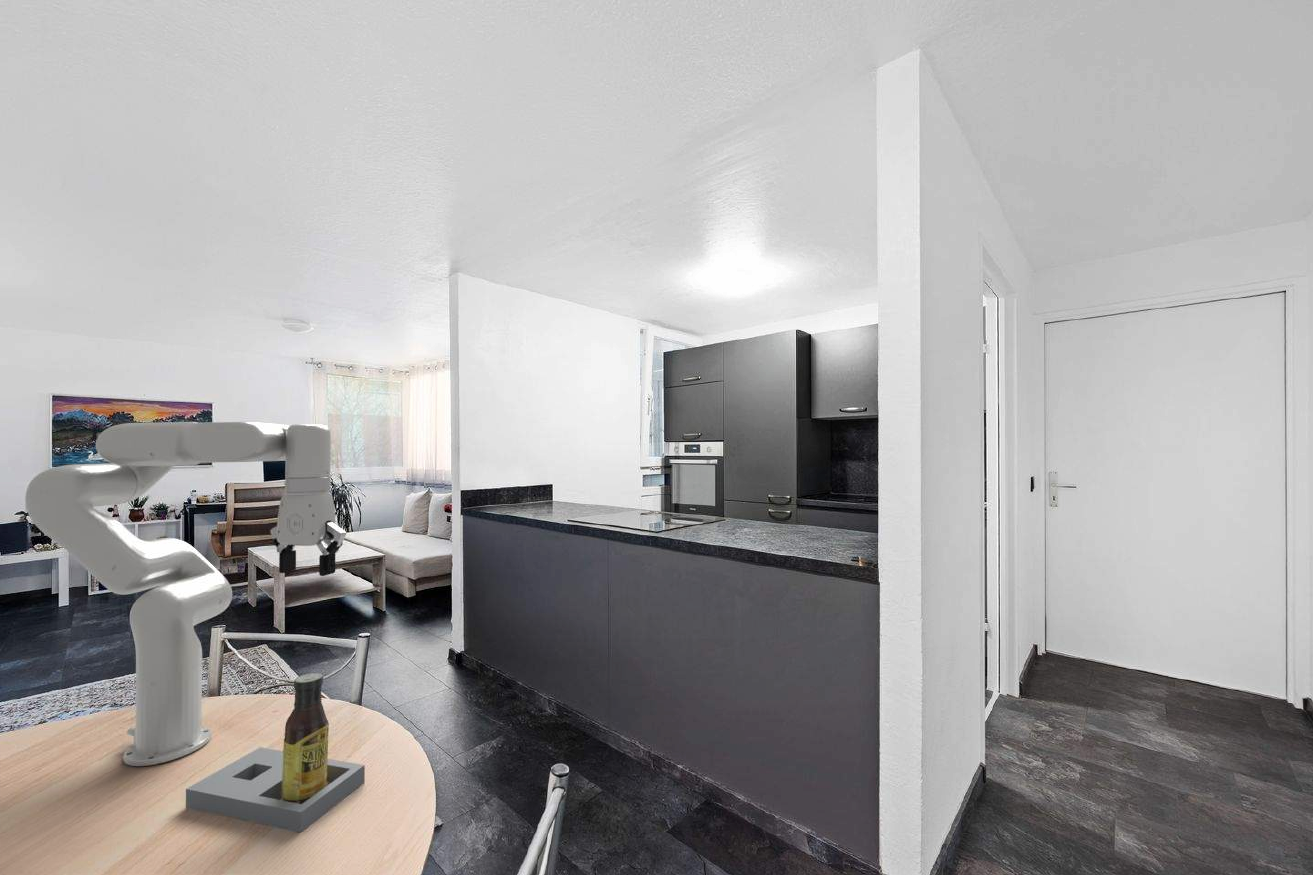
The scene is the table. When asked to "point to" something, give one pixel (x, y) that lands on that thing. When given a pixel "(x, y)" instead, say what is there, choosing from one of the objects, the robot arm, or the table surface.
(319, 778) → the sauce bottle
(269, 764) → the caddy
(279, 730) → the table surface
